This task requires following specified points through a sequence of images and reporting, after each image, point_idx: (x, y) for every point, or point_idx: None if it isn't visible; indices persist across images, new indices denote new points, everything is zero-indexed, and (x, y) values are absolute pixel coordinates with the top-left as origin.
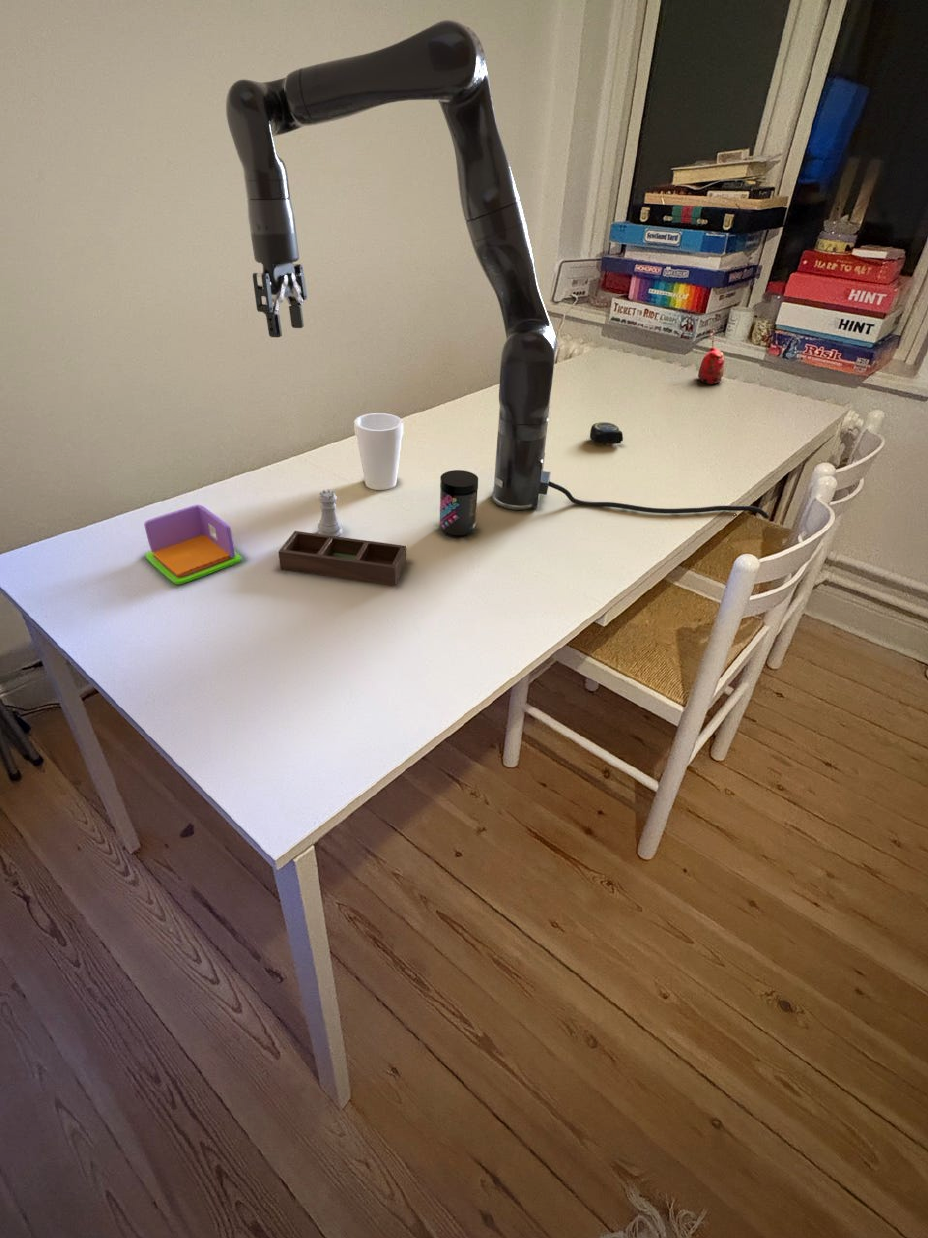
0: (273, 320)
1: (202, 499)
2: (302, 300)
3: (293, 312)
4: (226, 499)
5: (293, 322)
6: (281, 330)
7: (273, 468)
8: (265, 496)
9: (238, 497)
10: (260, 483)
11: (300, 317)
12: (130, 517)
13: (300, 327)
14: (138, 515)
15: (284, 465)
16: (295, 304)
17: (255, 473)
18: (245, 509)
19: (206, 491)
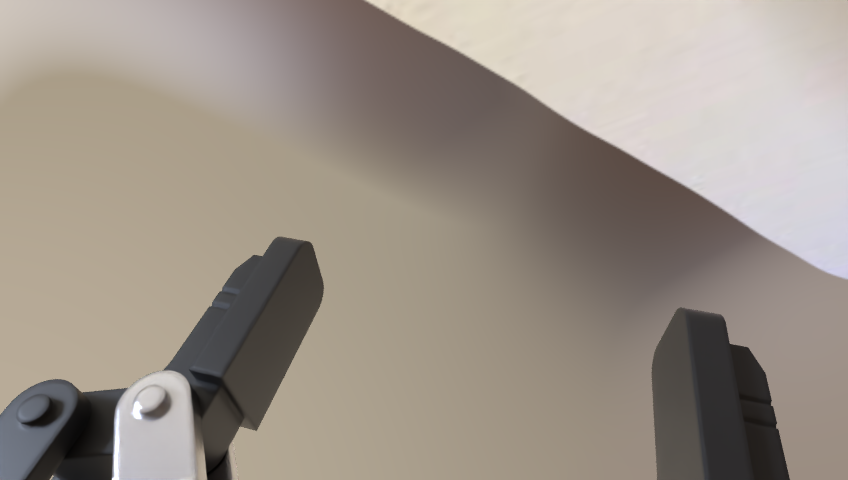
0: (787, 478)
1: (724, 166)
2: (137, 406)
3: (270, 367)
4: (723, 114)
5: (307, 309)
6: (692, 342)
7: (505, 74)
8: (699, 19)
9: (709, 90)
10: (609, 69)
11: (274, 299)
12: (824, 261)
13: (309, 247)
14: (814, 252)
15: (477, 53)
16: (219, 413)
17: (548, 106)
18: (797, 39)
19: (675, 174)
